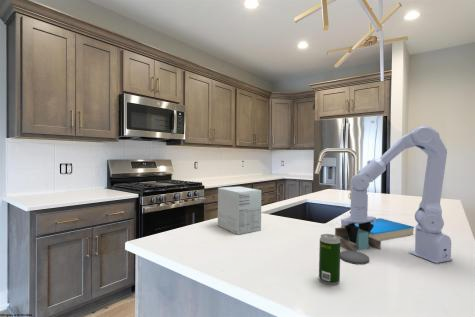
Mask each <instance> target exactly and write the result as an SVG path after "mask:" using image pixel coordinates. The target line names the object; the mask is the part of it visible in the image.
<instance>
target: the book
mask: <svg viewBox="0 0 475 317" xmlns="http://www.w3.org/2000/svg"><path fill="white" fill-rule="evenodd" d="M371 224H373V225H374V227H373V228H372V230H371V231H370V233H369V237H372V238H374V239H377V240H380V241H386V240H390V239H395V238H403V237H407V236H412V235H414V229H415V226H412V225H408V224H405V223H401V222H396V221H393V220H389V219H385V218H382V217H381V218H380V217H379V218H376V223H373V222H371ZM355 225H356V226H359V224H355ZM340 227H344V225H342V224H341V225H340Z"/></svg>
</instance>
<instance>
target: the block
mask: <svg viewBox="0 0 475 317" xmlns="http://www.w3.org/2000/svg"><path fill="white" fill-rule="evenodd" d="M368 235H369V232H367V231H364V230H361V229H358V232H357V237H356V250H366V249H367V250H368V249H369V245H368ZM348 241H350V240H348Z"/></svg>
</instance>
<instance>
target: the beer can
mask: <svg viewBox="0 0 475 317" xmlns="http://www.w3.org/2000/svg"><path fill="white" fill-rule="evenodd" d="M340 245H341V242H340V237H339V236H336V235H335V234H331V233H330V234H329V233H324V234H321V235H320V237H319V246H318V247H319V248H318V249H319V253H318V255H319V256H318V257H319V259H318V278H319V281H320V282H322V283H323V284H324V285H330V286H337V285H338V284H339V282H340V280H341V278H340V277H341V259H340V252H341V246H340Z"/></svg>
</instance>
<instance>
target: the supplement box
mask: <svg viewBox="0 0 475 317" xmlns="http://www.w3.org/2000/svg"><path fill="white" fill-rule="evenodd" d="M217 226H218V227H221V228H224V230H227V231H229V232H231V233H233V234H235V235H243V234H249V233H254V232H257V231H262V189H257V188H251V187H245V186H225V187H224V186H223V187H217Z"/></svg>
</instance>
